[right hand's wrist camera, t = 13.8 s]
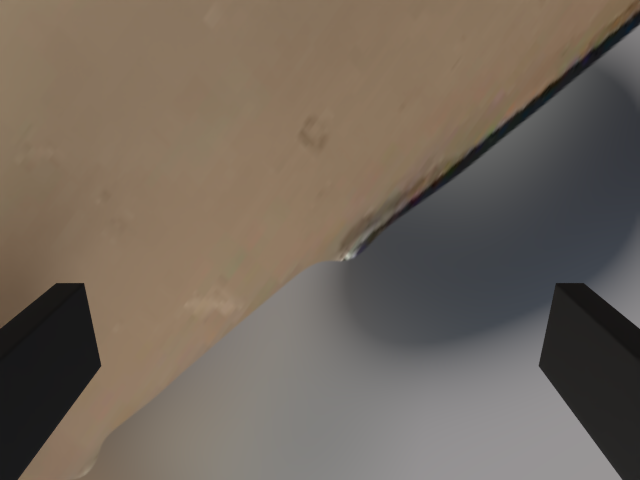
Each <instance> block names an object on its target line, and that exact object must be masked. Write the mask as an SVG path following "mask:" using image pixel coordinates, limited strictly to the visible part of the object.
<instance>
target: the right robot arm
mask: <svg viewBox="0 0 640 480" xmlns="http://www.w3.org/2000/svg"><path fill="white" fill-rule="evenodd" d="M100 367H101V362H100V358H99V353H98V348H97V343H96V338H95V334H94V329H93V324H92V319H91V314H90V310H89V305H88V300H87V295H86V290H85V286H84V283H56V284H55V285H54V286H52V287H51V288H50V289H49V290H48V291H46V292H45V293H44V294H43V295H41V296H40V297H39V298H38V299H36V300H35V301H34V302H33V303H32V304H30V305H29V306H28V307H27V308H25V309H24V310H23V311H22V312H21V313H19V314H18V315H17V316H16V317H14V318H13V319H12V320H11V321H9V322H8V323H7V324H6V325H5V326H3V327H2V328H1V329H0V480H18V478H19V477H20V476H21V474H22V473H23V472H24V470H25V469H26V468H27V466H28V465H29V463H30V462H31V461H32V459H33V458H34V457H35V455H36V454H37V453H38V451H39V450H40V448H41V447H42V446H43V444H44V443H45V442H46V440H47V439H48V438H49V436H50V435H51V434H52V432H53V431H54V429H55V428H56V427H57V425H58V424H59V423H60V421H61V420H62V419H63V417H64V416H65V414H66V413H67V412H68V410H69V409H70V408H71V406H72V405H73V404H74V402H75V401H76V400H77V398H78V397H79V395H80V394H81V393H82V391H83V390H84V389H85V387H86V386H87V385H88V383H89V382H90V381H91V379H92V378H93V376H94V375H95V374H96V372H97V371H98V370H99V368H100ZM539 367H540V368H541V370H542V371H543V372H544V374H545V375H546V376H547V378H548V379H549V380H550V382H551V383H552V385H553V386H554V387H555V389H556V390H557V391H558V393H559V394H560V395H561V397H562V398H563V400H564V401H565V402H566V404H567V405H568V406H569V408H570V409H571V410H572V412H573V413H574V414H575V416H576V417H577V418H578V420H579V421H580V423H581V424H582V425H583V427H584V428H585V429H586V431H587V432H588V434H589V435H590V436H591V438H592V439H593V440H594V442H595V443H596V444H597V446H598V447H599V448H600V450H601V451H602V453H603V454H604V455H605V457H606V458H607V459H608V461H609V462H610V463H611V465H612V466H613V468H614V469H615V470H616V472H617V473H618V474H619V476H620V477H621V478H622V480H640V329H639V328H638V327H637V326H635V325H634V324H633V323H632V322H631V321H629V320H628V319H627V318H626V317H624V316H623V315H622V314H621V313H619V312H618V311H617V310H616V309H615V308H613V307H612V306H611V305H610V304H608V303H607V302H606V301H605V300H604V299H602V298H601V297H600V296H599V295H597V294H596V293H595V292H594V291H592V290H591V289H590V288H589V287H588V286H586V285H585V284H584V283H556V286H555V290H554V295H553V300H552V305H551V310H550V314H549V319H548V324H547V329H546V334H545V339H544V344H543V348H542V353H541V358H540V362H539Z"/></svg>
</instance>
